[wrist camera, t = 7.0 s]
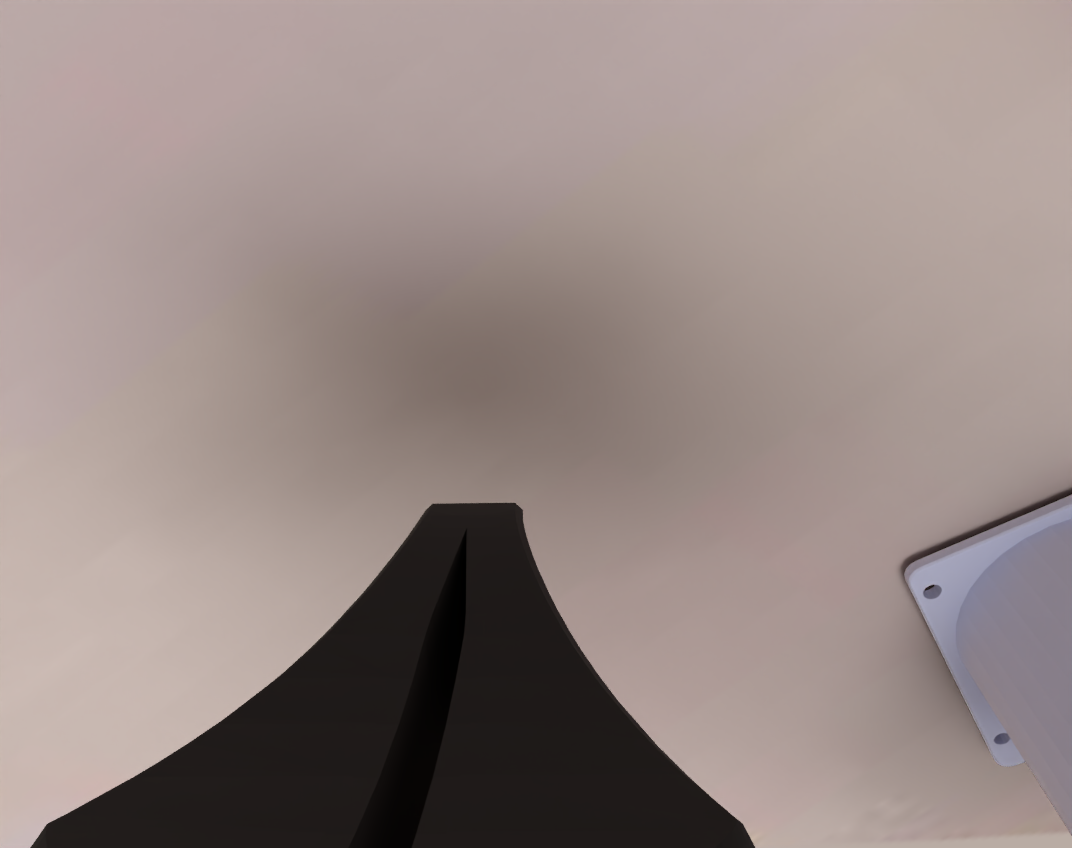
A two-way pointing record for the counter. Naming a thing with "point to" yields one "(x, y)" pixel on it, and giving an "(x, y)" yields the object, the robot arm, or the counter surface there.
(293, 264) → the counter surface
